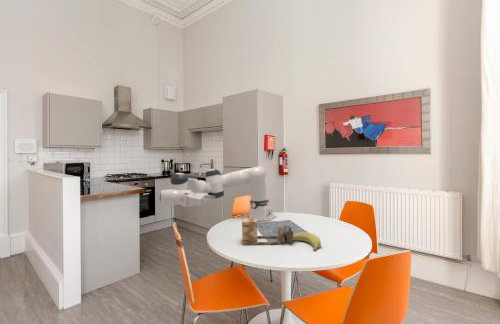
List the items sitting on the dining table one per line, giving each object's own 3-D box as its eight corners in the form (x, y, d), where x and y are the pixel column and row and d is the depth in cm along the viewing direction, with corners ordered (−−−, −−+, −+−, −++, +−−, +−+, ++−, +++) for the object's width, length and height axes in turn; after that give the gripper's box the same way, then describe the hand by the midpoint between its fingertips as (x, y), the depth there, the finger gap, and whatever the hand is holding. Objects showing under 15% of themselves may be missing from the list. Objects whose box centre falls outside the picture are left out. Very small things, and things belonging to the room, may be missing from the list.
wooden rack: (242, 245, 140) (242, 228, 140) (242, 238, 152) (242, 221, 152) (294, 245, 140) (294, 227, 140) (290, 237, 153) (290, 221, 152)
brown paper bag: (242, 244, 143) (241, 222, 142) (242, 239, 151) (242, 218, 150) (257, 243, 143) (257, 222, 142) (256, 238, 151) (256, 218, 150)
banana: (309, 226, 151) (324, 242, 131) (311, 234, 152) (326, 252, 132) (287, 233, 149) (298, 250, 130) (289, 241, 150) (301, 260, 131)
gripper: (193, 200, 158) (215, 201, 157) (182, 207, 138) (208, 208, 137) (193, 189, 158) (216, 190, 157) (182, 195, 137) (209, 196, 137)
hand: (212, 199), depth 147 cm, fingers open, 8 cm apart
